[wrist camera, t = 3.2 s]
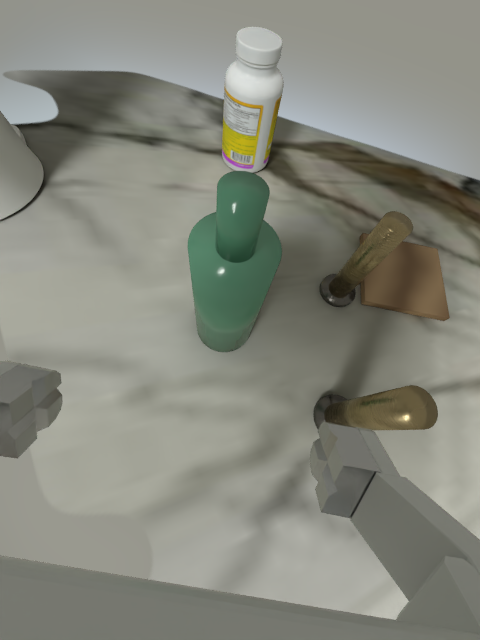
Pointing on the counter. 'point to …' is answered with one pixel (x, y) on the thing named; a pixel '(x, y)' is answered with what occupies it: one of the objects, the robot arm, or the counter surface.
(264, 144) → the supplement bottle
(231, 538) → the counter surface
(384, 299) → the plate
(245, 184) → the bottle
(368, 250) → the post
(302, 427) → the counter surface
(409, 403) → the post
